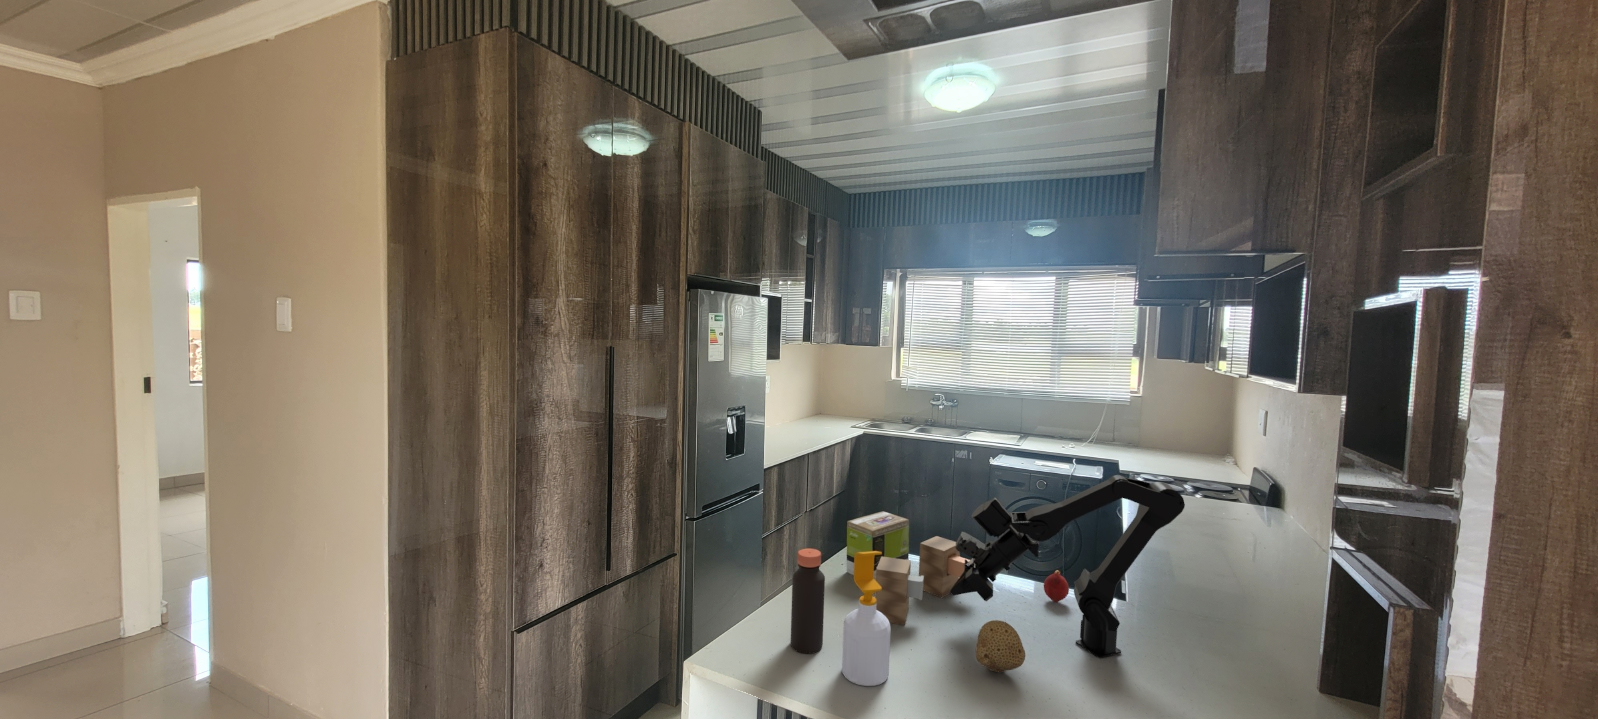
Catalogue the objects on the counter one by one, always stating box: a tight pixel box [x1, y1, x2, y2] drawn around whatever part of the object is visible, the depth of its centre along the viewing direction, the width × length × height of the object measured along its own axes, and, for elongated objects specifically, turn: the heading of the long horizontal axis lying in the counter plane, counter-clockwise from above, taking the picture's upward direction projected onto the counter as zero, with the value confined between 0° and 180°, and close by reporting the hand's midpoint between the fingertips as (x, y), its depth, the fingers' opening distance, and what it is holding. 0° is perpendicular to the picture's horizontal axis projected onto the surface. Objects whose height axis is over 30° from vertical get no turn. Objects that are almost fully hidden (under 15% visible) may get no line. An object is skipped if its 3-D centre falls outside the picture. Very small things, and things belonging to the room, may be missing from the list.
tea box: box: [846, 510, 910, 581], centre depth 165 cm, size 15×10×15 cm, turn 130°
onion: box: [1043, 569, 1070, 603], centre depth 150 cm, size 6×6×8 cm
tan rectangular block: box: [947, 554, 971, 577], centre depth 152 cm, size 8×3×4 cm, turn 46°
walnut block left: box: [874, 557, 912, 626], centre depth 140 cm, size 7×8×12 cm
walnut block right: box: [918, 535, 961, 598], centre depth 155 cm, size 7×8×12 cm
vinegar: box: [790, 547, 826, 654], centre depth 125 cm, size 7×7×20 cm
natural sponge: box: [975, 619, 1026, 673], centre depth 118 cm, size 9×9×10 cm
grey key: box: [907, 574, 924, 601], centre depth 139 cm, size 8×3×4 cm, turn 74°
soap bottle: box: [841, 551, 892, 687], centre depth 116 cm, size 9×9×25 cm
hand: (951, 592), depth 137 cm, fingers closed
